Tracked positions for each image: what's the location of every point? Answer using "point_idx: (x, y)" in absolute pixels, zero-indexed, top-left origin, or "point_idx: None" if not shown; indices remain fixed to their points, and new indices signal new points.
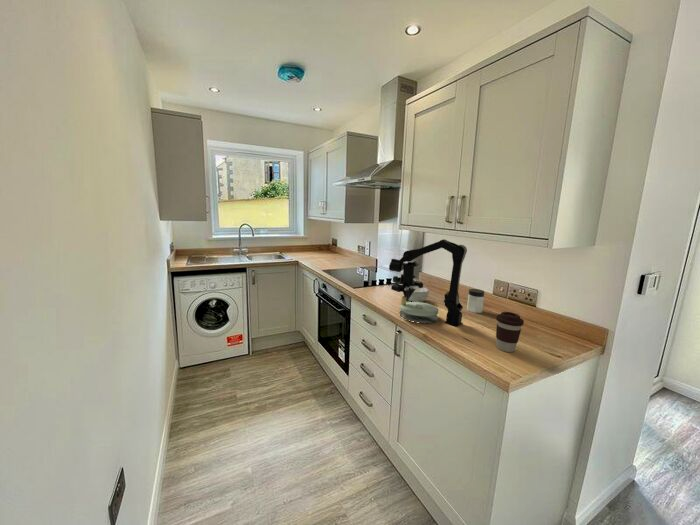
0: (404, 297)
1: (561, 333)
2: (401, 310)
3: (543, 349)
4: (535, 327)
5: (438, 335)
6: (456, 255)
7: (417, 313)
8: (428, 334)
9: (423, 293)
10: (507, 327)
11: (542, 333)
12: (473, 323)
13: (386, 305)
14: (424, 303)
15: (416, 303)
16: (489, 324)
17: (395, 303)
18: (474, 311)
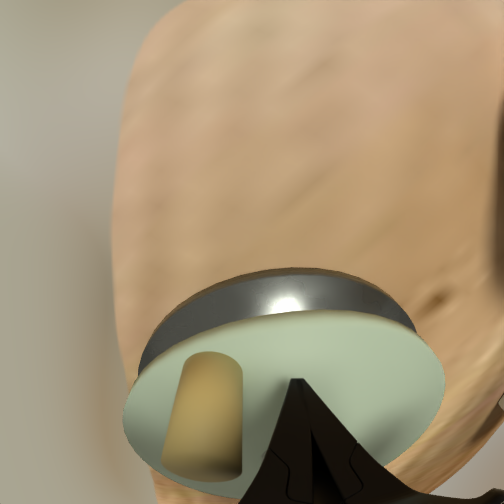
0: (185, 476)
1: (439, 484)
2: (236, 288)
3: None
4: (449, 472)
5: (184, 486)
6: None
7: (176, 481)
8: (154, 474)
9: None
10: None
11: (421, 489)
12: (395, 467)
13: (256, 31)
14: (432, 401)
15: (388, 390)
16: (416, 469)
17: (397, 52)
18: (501, 404)
